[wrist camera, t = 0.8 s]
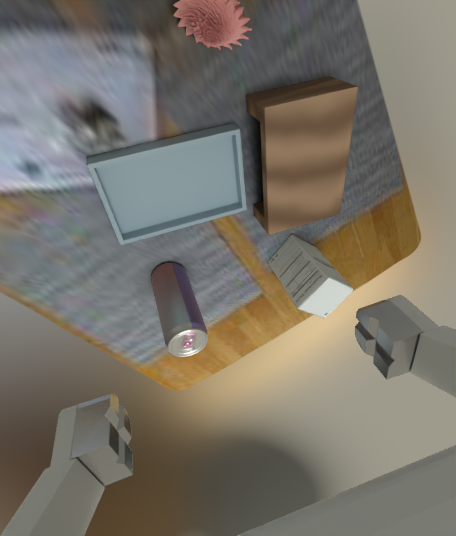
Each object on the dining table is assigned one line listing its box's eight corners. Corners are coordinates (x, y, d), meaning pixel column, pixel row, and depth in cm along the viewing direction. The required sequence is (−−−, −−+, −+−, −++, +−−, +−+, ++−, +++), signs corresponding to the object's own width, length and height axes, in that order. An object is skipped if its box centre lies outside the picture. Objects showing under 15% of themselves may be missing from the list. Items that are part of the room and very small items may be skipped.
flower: (233, -66, 28) (221, -1, 28) (270, 9, 34) (260, 61, 34) (163, -36, 32) (152, 20, 32) (208, 26, 39) (199, 72, 38)
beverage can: (188, 261, 55) (214, 327, 45) (181, 288, 59) (203, 356, 48) (153, 259, 53) (170, 329, 42) (147, 287, 56) (162, 359, 45)
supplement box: (316, 246, 63) (355, 290, 54) (291, 274, 66) (324, 320, 57) (291, 231, 59) (329, 277, 50) (265, 262, 61) (297, 310, 52)
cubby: (245, 95, 42) (264, 107, 37) (330, 76, 44) (357, 86, 39) (253, 215, 54) (268, 235, 49) (319, 196, 56) (339, 214, 51)
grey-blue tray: (86, 156, 40) (86, 164, 38) (233, 123, 43) (239, 128, 41) (119, 235, 48) (120, 245, 46) (240, 202, 51) (246, 210, 49)
